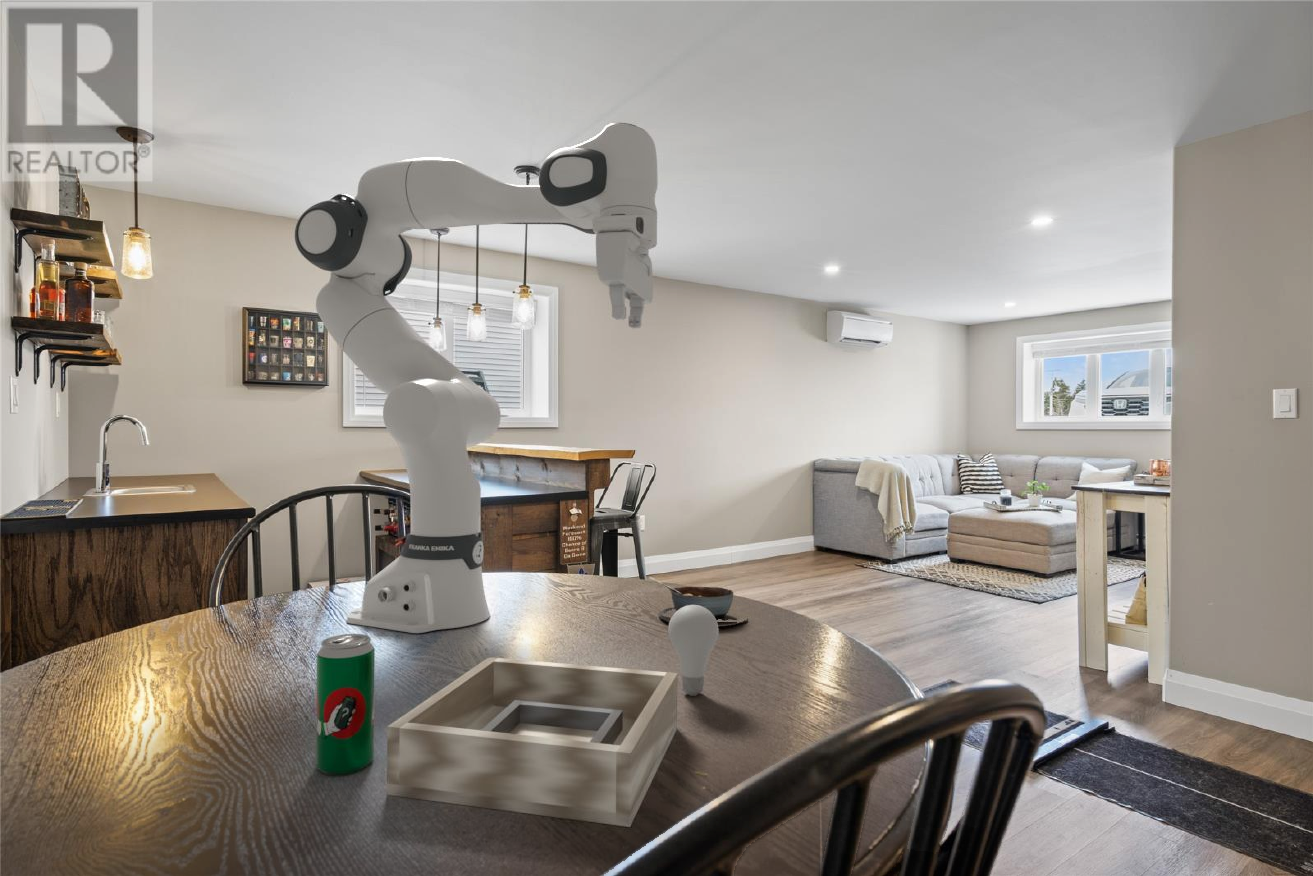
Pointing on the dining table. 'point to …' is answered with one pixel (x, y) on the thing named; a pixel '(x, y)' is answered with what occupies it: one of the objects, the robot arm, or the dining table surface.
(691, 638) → the lightbulb
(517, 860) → the dining table surface
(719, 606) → the soup bowl
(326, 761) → the soda can
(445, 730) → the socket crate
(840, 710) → the dining table surface
